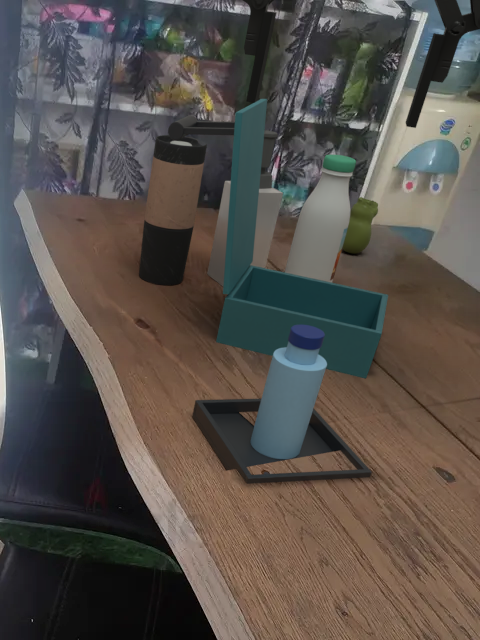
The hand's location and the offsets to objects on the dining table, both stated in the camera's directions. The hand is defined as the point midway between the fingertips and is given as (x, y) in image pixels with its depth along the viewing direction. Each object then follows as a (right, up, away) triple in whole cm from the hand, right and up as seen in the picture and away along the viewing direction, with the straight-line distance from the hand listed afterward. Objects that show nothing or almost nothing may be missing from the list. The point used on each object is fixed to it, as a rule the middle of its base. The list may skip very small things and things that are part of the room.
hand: (329, 113), depth 64 cm
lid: (-1, +5, +30) cm, 30 cm away
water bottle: (-1, -28, +13) cm, 31 cm away
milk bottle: (+14, +1, +56) cm, 58 cm away
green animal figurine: (+28, +15, +76) cm, 83 cm away
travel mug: (-10, +3, +54) cm, 55 cm away
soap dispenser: (+2, +4, +57) cm, 57 cm away
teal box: (+7, -11, +38) cm, 40 cm away
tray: (-2, -28, +14) cm, 31 cm away
